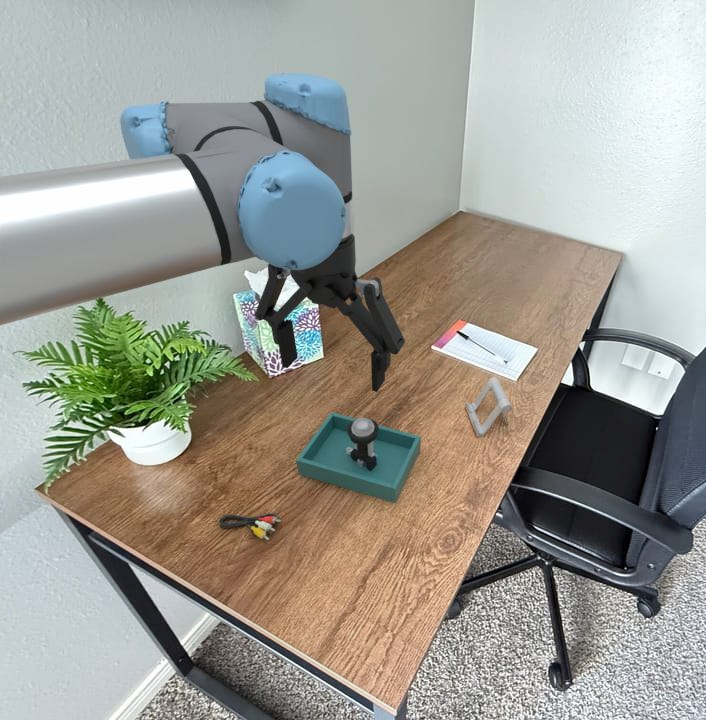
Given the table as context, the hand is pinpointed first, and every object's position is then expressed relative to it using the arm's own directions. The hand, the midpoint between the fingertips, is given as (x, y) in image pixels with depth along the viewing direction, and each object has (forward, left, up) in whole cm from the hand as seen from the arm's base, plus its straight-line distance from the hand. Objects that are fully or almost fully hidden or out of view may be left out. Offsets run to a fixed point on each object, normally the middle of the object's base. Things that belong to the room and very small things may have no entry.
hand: (333, 373), depth 66 cm
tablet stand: (+20, +25, -27) cm, 42 cm away
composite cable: (-11, -11, -27) cm, 31 cm away
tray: (0, +6, -27) cm, 27 cm away
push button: (0, +6, -26) cm, 27 cm away
